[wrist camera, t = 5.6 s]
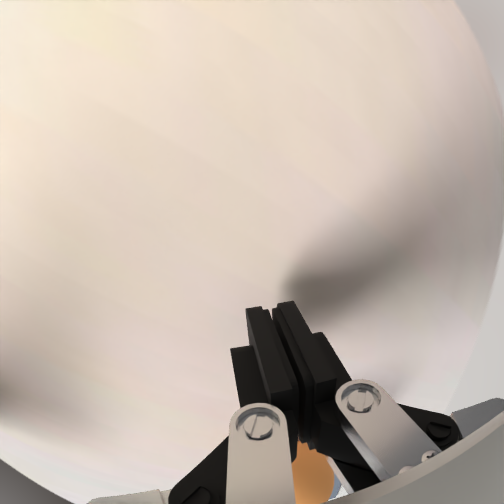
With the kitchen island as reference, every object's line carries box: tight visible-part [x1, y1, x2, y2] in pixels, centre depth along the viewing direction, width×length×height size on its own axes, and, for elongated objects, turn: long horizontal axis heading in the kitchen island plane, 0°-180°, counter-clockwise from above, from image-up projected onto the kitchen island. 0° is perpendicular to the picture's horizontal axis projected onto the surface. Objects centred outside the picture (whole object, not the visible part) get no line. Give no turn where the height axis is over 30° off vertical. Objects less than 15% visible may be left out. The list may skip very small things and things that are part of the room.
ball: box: [292, 441, 334, 504], centre depth 13 cm, size 6×6×6 cm
